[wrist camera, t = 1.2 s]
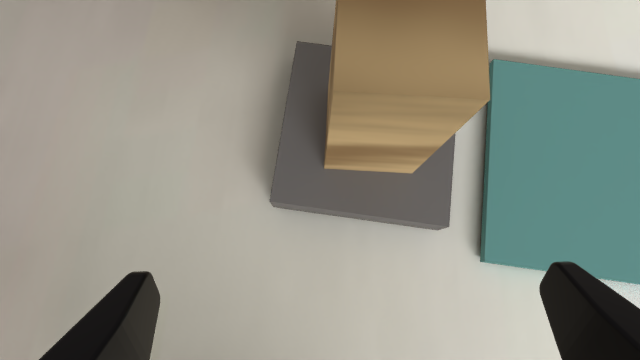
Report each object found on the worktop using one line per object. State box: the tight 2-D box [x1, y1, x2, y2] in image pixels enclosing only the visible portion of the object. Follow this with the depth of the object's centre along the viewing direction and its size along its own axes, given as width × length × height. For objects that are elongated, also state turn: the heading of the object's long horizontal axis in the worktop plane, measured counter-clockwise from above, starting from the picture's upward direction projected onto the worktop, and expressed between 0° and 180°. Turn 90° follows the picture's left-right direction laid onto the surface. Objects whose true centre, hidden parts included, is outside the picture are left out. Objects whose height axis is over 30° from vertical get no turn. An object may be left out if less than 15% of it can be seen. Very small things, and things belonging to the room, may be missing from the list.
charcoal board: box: [270, 41, 455, 230], centre depth 24 cm, size 10×10×2 cm
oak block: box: [324, 0, 490, 173], centre depth 18 cm, size 5×5×10 cm
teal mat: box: [480, 59, 640, 284], centre depth 24 cm, size 13×13×1 cm
